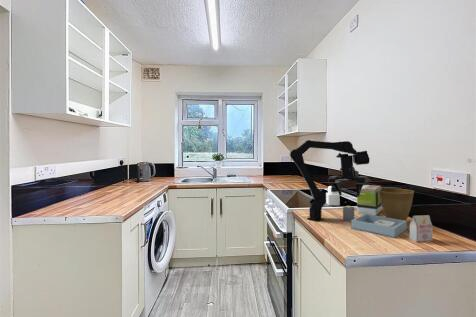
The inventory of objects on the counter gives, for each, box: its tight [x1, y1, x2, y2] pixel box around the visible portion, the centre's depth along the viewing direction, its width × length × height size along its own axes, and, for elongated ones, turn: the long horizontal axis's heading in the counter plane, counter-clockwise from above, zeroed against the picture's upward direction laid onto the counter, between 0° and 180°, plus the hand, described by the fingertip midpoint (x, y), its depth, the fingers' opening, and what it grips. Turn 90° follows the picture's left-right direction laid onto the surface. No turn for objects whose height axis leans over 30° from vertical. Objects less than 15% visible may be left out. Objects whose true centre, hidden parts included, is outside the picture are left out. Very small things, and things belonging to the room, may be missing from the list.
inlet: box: [374, 220, 396, 227], centre depth 120 cm, size 7×7×3 cm
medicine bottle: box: [325, 185, 341, 206], centre depth 175 cm, size 7×7×12 cm
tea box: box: [356, 184, 383, 216], centre depth 153 cm, size 15×10×15 cm, turn 141°
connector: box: [342, 205, 355, 223], centre depth 136 cm, size 4×4×7 cm
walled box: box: [350, 214, 408, 239], centre depth 122 cm, size 16×18×4 cm
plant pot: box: [379, 188, 415, 221], centre depth 132 cm, size 15×15×16 cm
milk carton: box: [409, 214, 433, 243], centre depth 107 cm, size 4×7×10 cm, turn 96°
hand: (349, 196), depth 136 cm, fingers open, 9 cm apart
